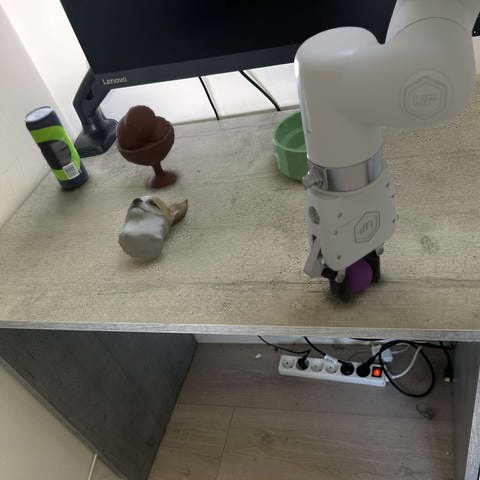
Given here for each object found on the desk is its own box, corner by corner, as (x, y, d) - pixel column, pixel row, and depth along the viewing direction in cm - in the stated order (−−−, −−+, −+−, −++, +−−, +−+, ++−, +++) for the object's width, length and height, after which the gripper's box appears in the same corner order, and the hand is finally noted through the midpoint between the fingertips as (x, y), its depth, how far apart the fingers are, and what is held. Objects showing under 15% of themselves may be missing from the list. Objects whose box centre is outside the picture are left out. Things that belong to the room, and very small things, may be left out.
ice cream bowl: (196, 162, 96) (170, 86, 85) (176, 197, 89) (146, 119, 79) (149, 165, 100) (119, 92, 89) (127, 198, 93) (91, 124, 82)
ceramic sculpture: (89, 228, 73) (122, 175, 83) (112, 272, 79) (140, 218, 89) (155, 222, 70) (181, 168, 80) (173, 268, 76) (195, 213, 86)
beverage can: (93, 170, 104) (57, 102, 93) (83, 187, 100) (45, 118, 89) (67, 175, 106) (29, 108, 95) (57, 191, 102) (16, 124, 91)
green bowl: (326, 127, 93) (322, 96, 89) (383, 152, 83) (383, 118, 79) (262, 164, 90) (255, 134, 86) (314, 194, 80) (309, 162, 76)
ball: (357, 270, 66) (355, 245, 63) (380, 286, 64) (379, 261, 60) (332, 286, 65) (328, 262, 62) (354, 303, 63) (352, 279, 59)
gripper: (304, 217, 47) (324, 336, 60) (431, 137, 51) (424, 266, 64) (260, 189, 52) (288, 304, 65) (379, 118, 55) (383, 241, 69)
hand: (355, 284), depth 64 cm, fingers closed on ball, 4 cm apart
